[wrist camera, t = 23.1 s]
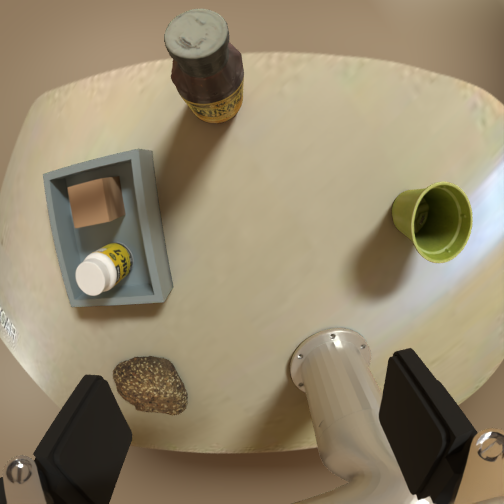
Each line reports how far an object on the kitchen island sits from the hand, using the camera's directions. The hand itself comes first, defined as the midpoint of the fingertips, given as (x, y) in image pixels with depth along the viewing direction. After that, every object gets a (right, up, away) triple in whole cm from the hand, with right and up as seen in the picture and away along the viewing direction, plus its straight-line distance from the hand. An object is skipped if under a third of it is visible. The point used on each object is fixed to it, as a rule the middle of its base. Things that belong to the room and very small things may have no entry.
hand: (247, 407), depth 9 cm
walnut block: (-19, +12, +27) cm, 35 cm away
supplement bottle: (-18, +4, +29) cm, 34 cm away
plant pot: (+22, +10, +29) cm, 38 cm away
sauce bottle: (-4, +23, +25) cm, 34 cm away
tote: (-18, +8, +29) cm, 35 cm away
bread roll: (-17, -17, +37) cm, 44 cm away
